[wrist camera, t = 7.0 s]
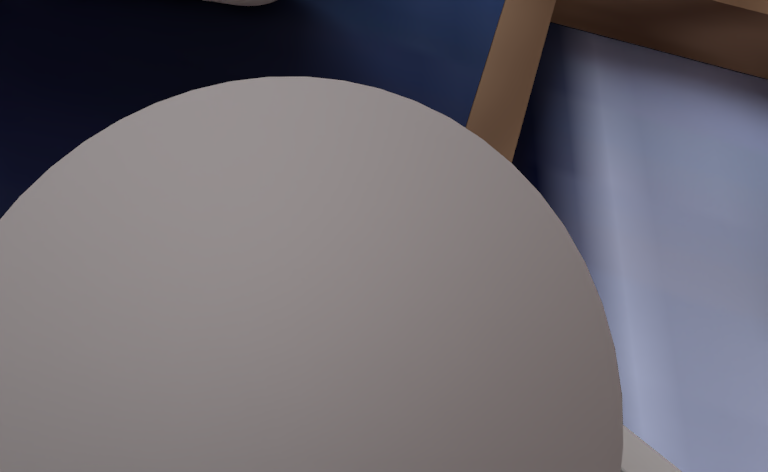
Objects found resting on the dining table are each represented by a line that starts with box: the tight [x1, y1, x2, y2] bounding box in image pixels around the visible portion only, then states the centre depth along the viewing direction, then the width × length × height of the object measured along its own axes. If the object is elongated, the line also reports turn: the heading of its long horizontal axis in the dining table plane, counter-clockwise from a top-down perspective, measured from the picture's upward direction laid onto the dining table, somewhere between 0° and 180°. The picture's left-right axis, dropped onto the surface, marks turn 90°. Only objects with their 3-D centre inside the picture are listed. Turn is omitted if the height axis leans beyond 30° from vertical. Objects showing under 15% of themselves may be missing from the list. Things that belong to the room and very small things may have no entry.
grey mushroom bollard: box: [0, 77, 623, 472], centre depth 9 cm, size 6×6×11 cm
